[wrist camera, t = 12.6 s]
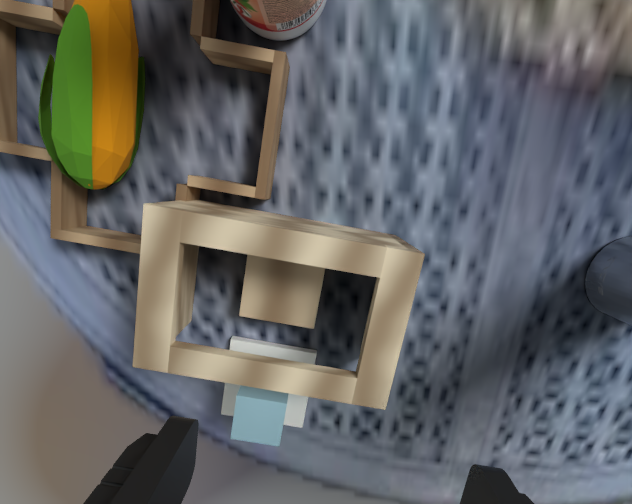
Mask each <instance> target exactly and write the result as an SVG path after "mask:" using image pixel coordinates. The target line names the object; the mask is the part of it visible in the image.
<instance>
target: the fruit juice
mask: <svg viewBox="0 0 632 504" xmlns="http://www.w3.org/2000/svg"><path fill="white" fill-rule="evenodd" d="M230 2H231V4H232V6H233V8H234V10H235V11H236V13H237V14H238V16H239V17H240V19H241V20H242V21H243V22H244V23H245V25H246V26H247V27H248V28H250V29H251V30H252V31H253V32H255V33H256V34H258V35H260V36H262V37H264V38H267V39H271V40H278V41H282V40H289V39H293V38H296V37H298V36H300V35H302V34H304V33H305V32H306V31H308V30H309V29H310V28H311V27H312V26H313V25H314V24H315V22H316V21H317V20H318V18H319V17H320V15H321V13H322V11H323V9H324V7H325V4H326V0H230Z"/></svg>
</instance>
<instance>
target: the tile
mask: <svg viewBox="0 0 632 504" xmlns="http://www.w3.org/2000/svg"><path fill="white" fill-rule="evenodd" d="M230 350H232V351H238V352H244V353H250V354H255V355H261V356H267V357H273V358H279V359H285V360H290V361H296V362H302V363H308V364H314V365H315V360H316V355H317V350H312V349H306V348H300V347H294V346H289V345H283V344H277V343H271V342H265V341H260V340H254V339H248V338H242V337H236V336H232V338H231V342H230ZM240 386H241V385H236V384H230V383H225V387H224V394H223V402H222V409H221V414H222V415H228V416H234V410H235V403H236V396H237V393H238V391H239V388H240ZM307 401H308V397H307V396H301V395H295V394H288V400H287V406H286V412H285V418H284V423H283V425H288V426H294V427H300V428H302V427H303V421H304V416H305V411H306V406H307Z"/></svg>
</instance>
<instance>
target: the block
mask: <svg viewBox="0 0 632 504" xmlns="http://www.w3.org/2000/svg"><path fill="white" fill-rule="evenodd" d="M288 394H289V393H283V392H277V391H272V390H266V389H260V388H254V387H248V386H242V385H241V386H240V388H239V391H238V393H237V396H236V403H235V410H234V417H233V424H232V431H231V438H230V439H236V440H242V441H248V442H254V443H260V444H266V445H272V446H278V447H279V445H280V440H281V434H282V429H283V423H284V418H285V412H286V406H287V400H288Z"/></svg>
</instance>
